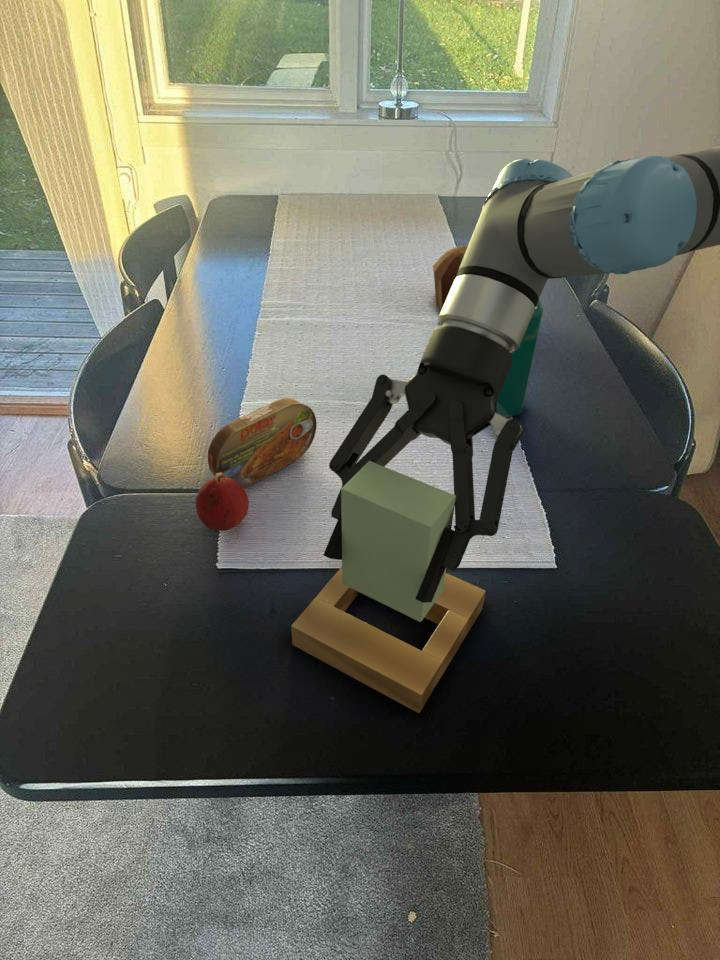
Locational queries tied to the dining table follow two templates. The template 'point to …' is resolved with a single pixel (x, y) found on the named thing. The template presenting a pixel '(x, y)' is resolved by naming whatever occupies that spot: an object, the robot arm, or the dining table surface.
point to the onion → (222, 503)
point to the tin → (262, 441)
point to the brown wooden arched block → (447, 272)
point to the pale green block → (392, 536)
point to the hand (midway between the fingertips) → (376, 578)
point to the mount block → (387, 640)
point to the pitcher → (520, 369)
